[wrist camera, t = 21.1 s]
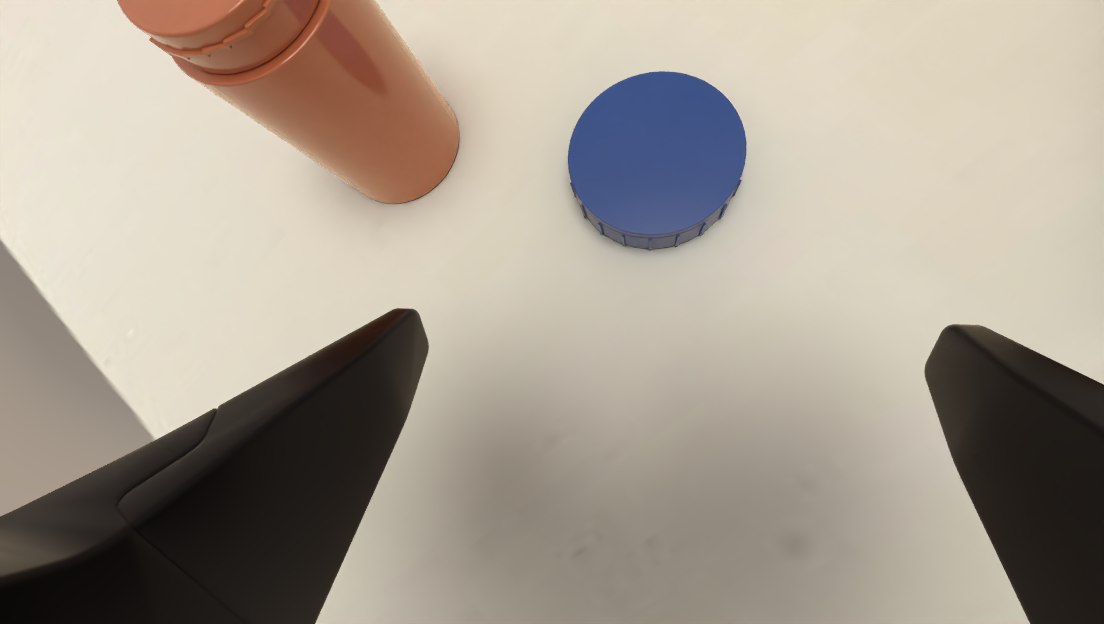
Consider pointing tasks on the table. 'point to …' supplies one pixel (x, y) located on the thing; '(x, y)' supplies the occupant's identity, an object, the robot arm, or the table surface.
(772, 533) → the table surface
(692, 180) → the lid
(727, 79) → the table surface
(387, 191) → the jar
